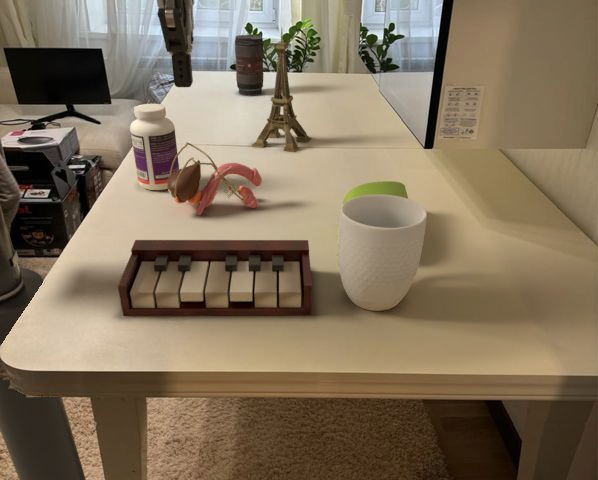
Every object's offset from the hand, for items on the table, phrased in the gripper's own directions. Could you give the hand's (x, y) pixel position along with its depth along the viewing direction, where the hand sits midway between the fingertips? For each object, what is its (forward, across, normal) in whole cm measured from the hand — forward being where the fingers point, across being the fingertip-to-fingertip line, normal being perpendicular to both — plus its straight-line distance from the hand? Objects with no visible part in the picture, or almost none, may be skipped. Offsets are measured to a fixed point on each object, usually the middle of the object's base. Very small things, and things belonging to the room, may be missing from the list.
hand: (183, 85), depth 77 cm
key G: (+23, +11, +7) cm, 27 cm away
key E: (+23, +11, +1) cm, 26 cm away
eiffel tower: (+25, -58, +13) cm, 65 cm away
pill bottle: (+25, -31, -11) cm, 41 cm away
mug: (+25, +11, +26) cm, 38 cm away
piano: (+25, +10, +4) cm, 27 cm away
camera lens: (+25, -105, +4) cm, 108 cm away
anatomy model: (+25, -20, +1) cm, 32 cm away
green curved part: (+25, -8, +29) cm, 39 cm away
